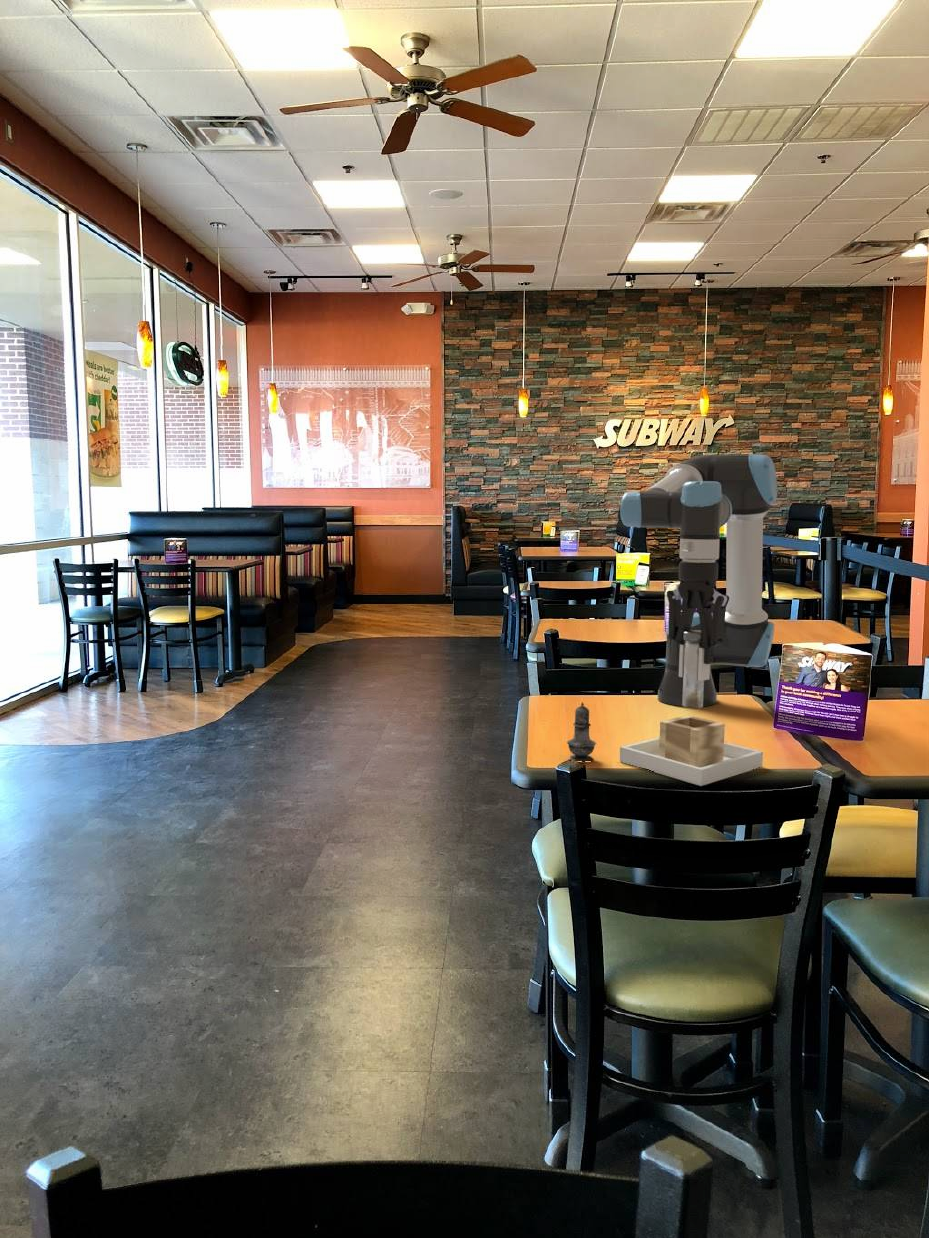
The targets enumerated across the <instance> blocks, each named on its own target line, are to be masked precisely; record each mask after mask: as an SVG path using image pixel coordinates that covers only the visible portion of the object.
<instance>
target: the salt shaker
mask: <svg viewBox="0 0 929 1238" xmlns="http://www.w3.org/2000/svg"><path fill="white" fill-rule="evenodd" d="M572 724H573V726H574V732H573V733H574V734H573V738H571V739H568V740H567V742H566V744H567V746H568V748H569V752H570V753H571V754H572V755H570V756H569V757H570V759H567V760H568V761H569V760H573V761H582V762H585V761H593V760H594V761H595V759H594V757H592V756H591V754H592V753H593V752H594V750H595V746H596V745H597V742H596V741H594V740H592V739H591V737H590V727H591V726H592V725H591V723H590V710H589V708H588V707H586V706H585V704H584V702H581V704H580V706H578V707H576V709H575V713H574V722H573V723H572ZM594 761H593V762H594Z"/></svg>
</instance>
